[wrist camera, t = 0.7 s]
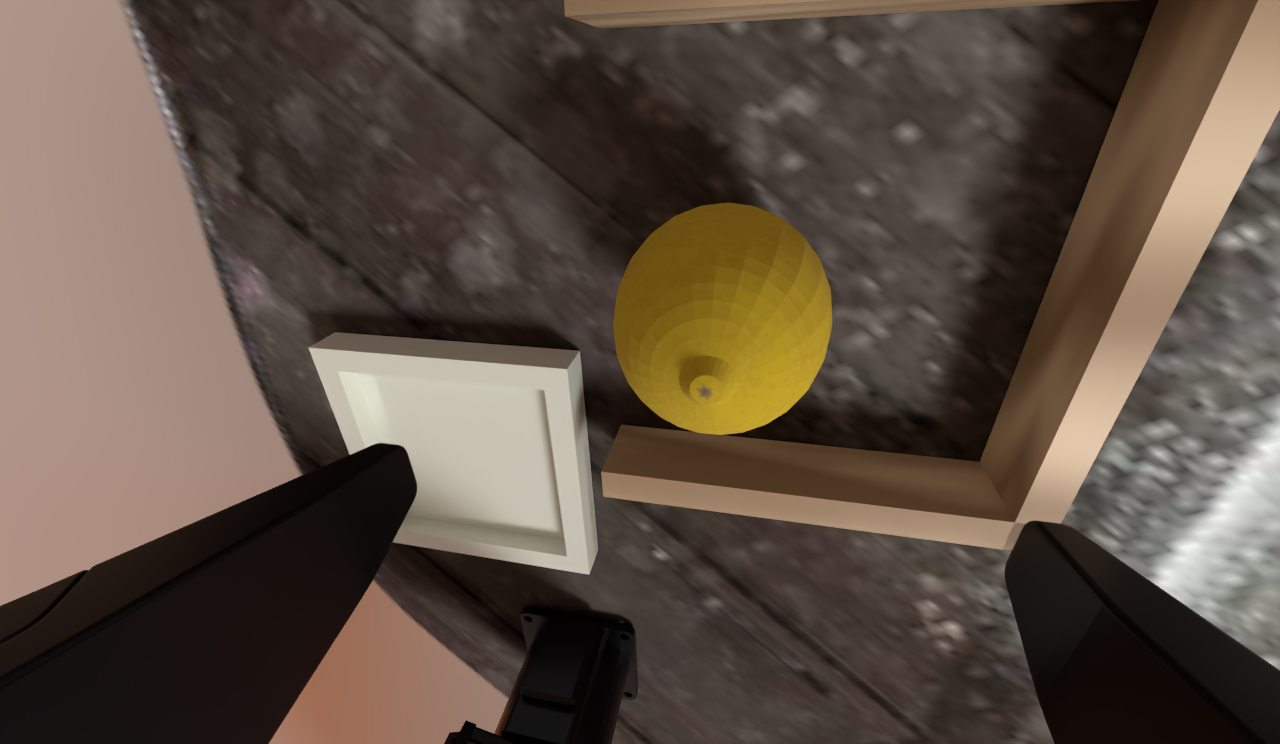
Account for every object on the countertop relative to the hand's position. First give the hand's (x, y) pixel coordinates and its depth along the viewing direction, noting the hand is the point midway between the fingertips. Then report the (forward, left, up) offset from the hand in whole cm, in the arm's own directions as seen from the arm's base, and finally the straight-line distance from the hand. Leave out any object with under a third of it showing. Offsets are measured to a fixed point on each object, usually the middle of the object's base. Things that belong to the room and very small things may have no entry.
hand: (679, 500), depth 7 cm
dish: (-9, +11, -11) cm, 18 cm away
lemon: (0, 0, -11) cm, 11 cm away
